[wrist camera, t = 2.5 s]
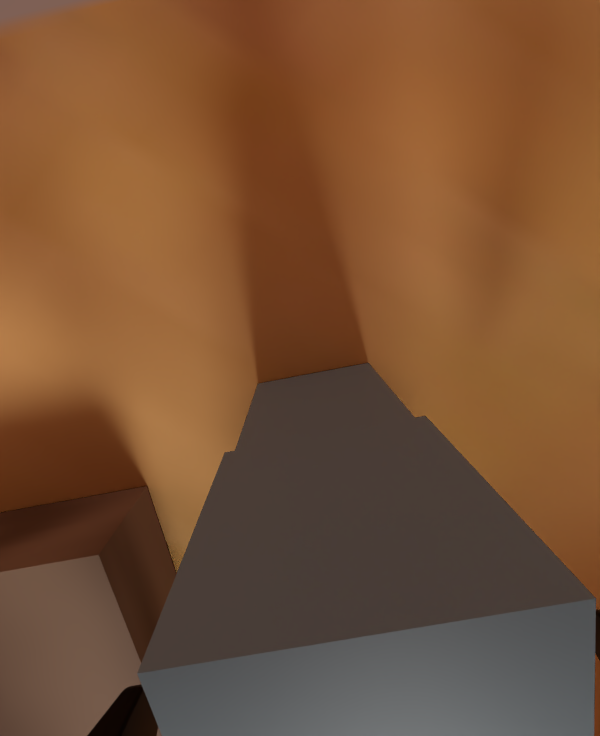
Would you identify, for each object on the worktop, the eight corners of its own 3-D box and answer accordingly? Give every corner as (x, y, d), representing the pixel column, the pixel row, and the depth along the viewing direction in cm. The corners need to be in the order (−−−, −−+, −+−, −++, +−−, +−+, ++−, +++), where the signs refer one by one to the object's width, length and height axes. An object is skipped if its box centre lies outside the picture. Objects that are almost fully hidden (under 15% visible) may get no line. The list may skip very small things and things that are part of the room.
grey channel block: (367, 353, 11) (596, 598, 3) (406, 615, 13) (588, 1170, 5) (255, 374, 11) (136, 674, 3) (314, 630, 13) (347, 1196, 5)
